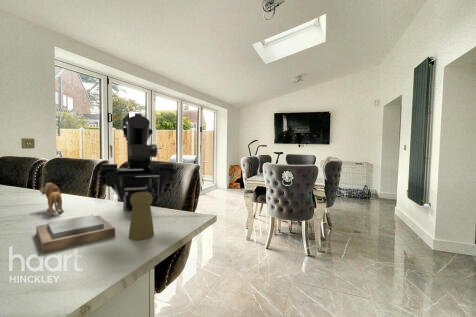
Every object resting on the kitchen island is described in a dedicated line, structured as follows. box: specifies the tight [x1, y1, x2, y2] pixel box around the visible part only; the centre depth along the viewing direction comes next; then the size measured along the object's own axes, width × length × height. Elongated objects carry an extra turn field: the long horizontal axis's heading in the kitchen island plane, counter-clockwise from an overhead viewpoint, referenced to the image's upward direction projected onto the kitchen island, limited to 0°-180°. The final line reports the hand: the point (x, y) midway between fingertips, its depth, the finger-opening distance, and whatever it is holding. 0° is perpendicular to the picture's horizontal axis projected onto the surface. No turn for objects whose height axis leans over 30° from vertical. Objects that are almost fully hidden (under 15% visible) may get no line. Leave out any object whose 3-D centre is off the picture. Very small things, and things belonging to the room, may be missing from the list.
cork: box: [128, 191, 155, 241], centre depth 60 cm, size 6×6×11 cm
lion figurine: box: [39, 182, 65, 217], centre depth 79 cm, size 15×5×9 cm, turn 51°
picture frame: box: [35, 214, 116, 253], centre depth 60 cm, size 14×14×3 cm
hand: (141, 198), depth 61 cm, fingers open, 9 cm apart
